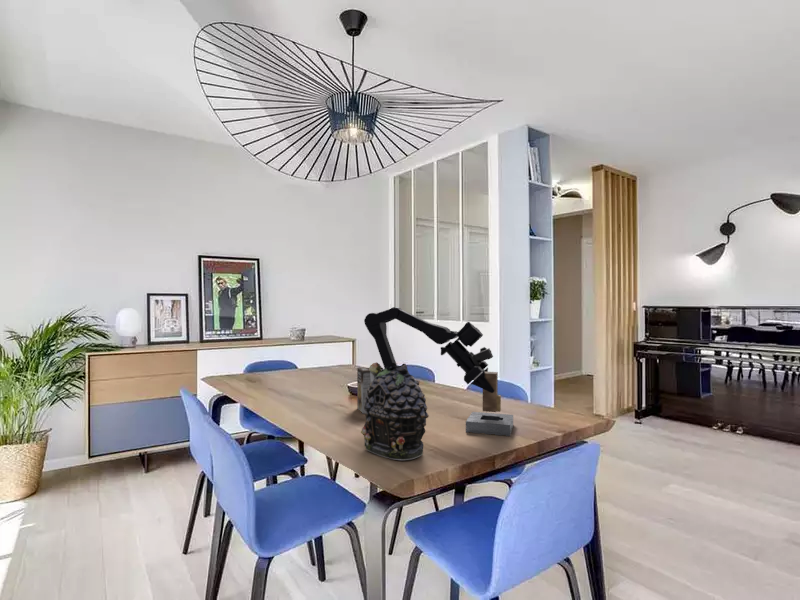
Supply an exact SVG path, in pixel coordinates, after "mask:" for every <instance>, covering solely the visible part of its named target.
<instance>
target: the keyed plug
mask: <svg viewBox="0 0 800 600" xmlns="http://www.w3.org/2000/svg"><path fill="white" fill-rule="evenodd" d="M485 377H486V379H487V380H488V382H489V383H490V385H491V386H492V388H493V389H494V392H493V393H491V392H489V391H486V390H484V389H482V412H485V413H497V412H498V413H500V412H501V411H502V395H500V394H499V393H498V389H499V388H498V382H499V381H498V377H499V375H498V371H488V372H485Z"/></svg>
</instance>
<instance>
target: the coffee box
mask: <svg viewBox="0 0 800 600" xmlns="http://www.w3.org/2000/svg"><path fill="white" fill-rule="evenodd" d="M356 370H357V371H356V373H357V379H356V381H357V391H356V393H357V394H356V395H357V396H356V397H357V401H356V402H357V403H356V405H357V407H356V408H357V410H358V411H359V410H360V411H361V412H362V413H361V412H360V411H359V412H360V413H361V414H365V410H364V406H365V399H366V396H367V389H368V388H369V387H370V383H371V380H370V370H369V367H357V368H356Z"/></svg>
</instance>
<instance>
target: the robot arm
mask: <svg viewBox="0 0 800 600" xmlns="http://www.w3.org/2000/svg"><path fill="white" fill-rule="evenodd" d="M363 320H364V325H365V327H366V329H367V331H368V332H369V334H370V335H371V336H372V338H373V339H374V341H375V344H376V347H377V348H376V349H377V350H378V352H379V355H380V359H381V362H382V364H383V369H384V368H386V367H387V369H388V368H390V366H391V363H395V364H396V363H397V362H396V358H395V356H394V354H393V353H394V352H393V350H392V347H391V344H390V342H389V338H388V335H387V323H389V322H391V321H394V320H397V321H399V322H401V323H403V324H405V325H407V326H409V327H411V328H413V329H415V330H417V331H420V332H421V333H423V334H424V335H425V336H427V338H428V339H430V340H431V341H433V342H434V343H436V344H437V345H444V344H446V343H447V344H446V345H445V346H441V347H440V356H444V355H445V354H446V353H447V354H448V356H449V357H450V358H451V359H452V360H453V361H454V362H455V363H456V366H457V367H458V368H459V367H460V369H461V370H463V371H464V377H463V381H464V383H466V384H467V385H469V384H471V385H473V386H475V387H478V388H480V389H482V390H483V389H484V390H486V391H489V392H491V393H493V392H494V389H493V388H492V386H491V385H490V383H489V382H488V380H487V379H486V377H485V372H489V364H488V363H487V361H488V360H490V359H492V358H493V357H494V355H493V353H492V350H491V349H490V348H486V347H485V346H483V347H481V348H480V349H479V352H477V353H475V354H474V353H473V352H472V351H469V350H468V349H467V347H468V346H469V347H473V346H474V345H475V344H476V343H477V342H478V341H479V340H480V339H482V337H483V336H484V334H483V333H482V331H480V329H479V328H478V327H476V326H474V324H472V323H471V322H470V321H466V323H465V324H464V325H463V327H461V328H460V329H459V330H458V331H456V330H455V331H454V330H451V329H450V328H448V327H446V326H443V325H440V324H435V323H431V322H428V321H427V320H424V319H423V318H421V317H419V316H416V315H414V314H412V313H410V312H408V311H406V310H403V309H402V308H401V307H397V306H394V307H391V308H389V309H386V310H383V311H381V312H371V313H368V314H367V315H365V318H364V319H363ZM454 339H455V340H454ZM451 340H453V342H452V341H451ZM486 360H487V361H486ZM396 365H398V363H397V364H396Z"/></svg>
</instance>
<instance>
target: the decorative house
mask: <svg viewBox="0 0 800 600" xmlns="http://www.w3.org/2000/svg"><path fill="white" fill-rule="evenodd" d="M396 364H397V365H396ZM396 364H395V363H391V366H390V368H388V369H387V367H386V368H384V367H382V365H380V363H378V362H373V363H372V364H370V365H369V367H368V368H369V370H370V380H371V383H370V387H369V388H368V389H367V396H366V399H365V406H364V410H365V413H364V415H365V423H364V425H363V427H362V429H361V431H360V434H362V435H363V438H364V448H365V450H366V451H368V452H370V453H372V454H374V455H377V456H379V457H384V458H386V459H390V460H394V461H395V460H396V461H410V460H414V459H416V458H419V457H421V456H423V454H424V442H423V440H422V439H423V436H424V435H425V434H426V429H425V427H426V426H427V419H428V418H429V417H430V415H429V414H428V412H427V411H428V406H427V404H426V402H427V401H426V399H427V398H426V397H425V395H426V394H424V393H423V390H422V388H421V387H420V381H419V380H416V379H415V377H414V376H413V375H412V374H410V372H409V369H408V366H407V364H406V363H403V364H401V365H398V363H397V362H396Z"/></svg>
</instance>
